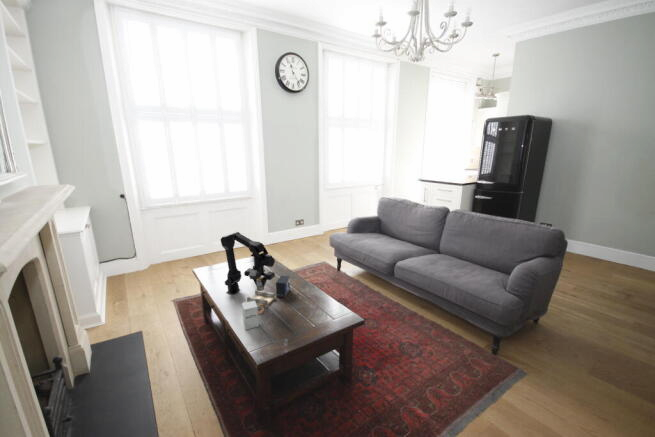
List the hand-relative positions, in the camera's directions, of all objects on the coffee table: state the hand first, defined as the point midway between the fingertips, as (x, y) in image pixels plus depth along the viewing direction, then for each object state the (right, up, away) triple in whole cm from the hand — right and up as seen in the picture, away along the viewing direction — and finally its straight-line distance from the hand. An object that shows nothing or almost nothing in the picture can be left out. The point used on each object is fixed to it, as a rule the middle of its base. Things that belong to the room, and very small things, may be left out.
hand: (260, 286), depth 188 cm
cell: (0, -2, 0) cm, 2 cm away
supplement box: (0, -17, -22) cm, 27 cm away
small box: (+13, -8, +12) cm, 19 cm away
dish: (0, -13, -9) cm, 16 cm away
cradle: (0, -10, +3) cm, 10 cm away
